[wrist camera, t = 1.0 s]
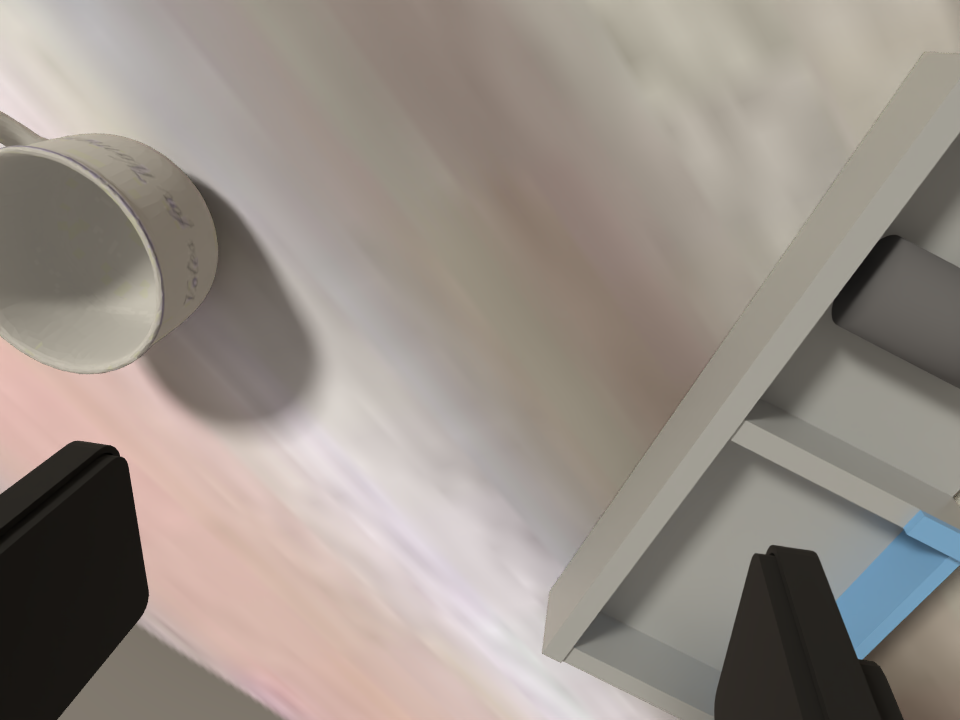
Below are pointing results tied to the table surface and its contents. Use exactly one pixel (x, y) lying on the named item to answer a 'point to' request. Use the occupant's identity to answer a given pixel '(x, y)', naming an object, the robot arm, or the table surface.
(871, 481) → the divided grey tray
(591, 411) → the table surface
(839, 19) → the table surface
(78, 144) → the teacup
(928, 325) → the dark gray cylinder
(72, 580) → the robot arm
